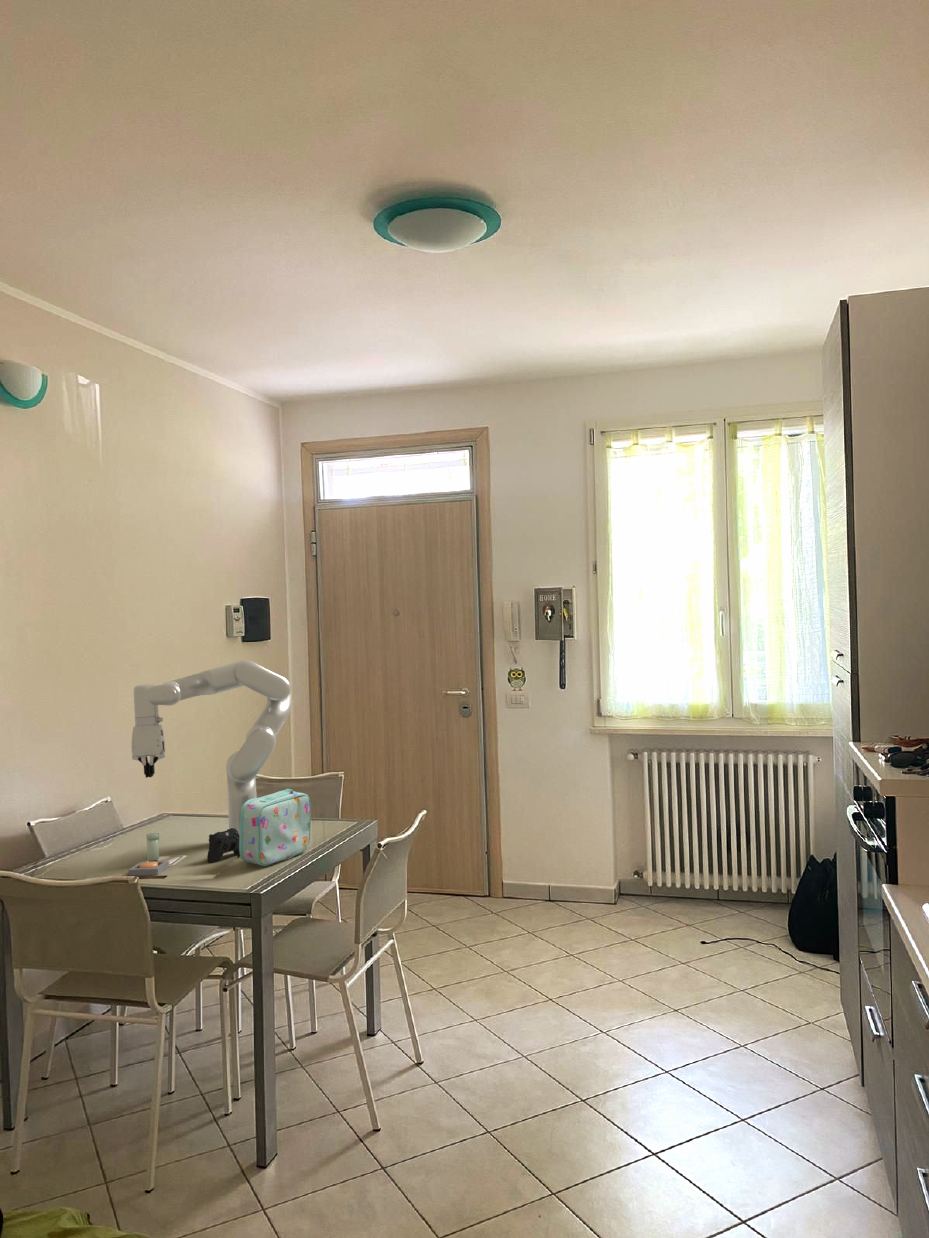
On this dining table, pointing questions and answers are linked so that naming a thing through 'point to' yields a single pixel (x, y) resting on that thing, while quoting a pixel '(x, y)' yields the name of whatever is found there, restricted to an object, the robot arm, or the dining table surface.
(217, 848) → the gaming controller
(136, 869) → the button housing
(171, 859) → the drawing board
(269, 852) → the lunch box
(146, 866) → the button
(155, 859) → the pale green cylinder
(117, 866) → the dining table surface
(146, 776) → the robot arm
